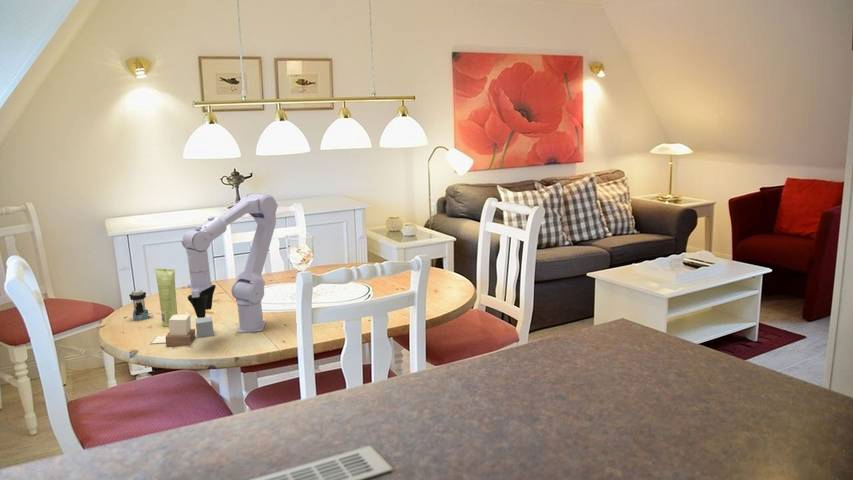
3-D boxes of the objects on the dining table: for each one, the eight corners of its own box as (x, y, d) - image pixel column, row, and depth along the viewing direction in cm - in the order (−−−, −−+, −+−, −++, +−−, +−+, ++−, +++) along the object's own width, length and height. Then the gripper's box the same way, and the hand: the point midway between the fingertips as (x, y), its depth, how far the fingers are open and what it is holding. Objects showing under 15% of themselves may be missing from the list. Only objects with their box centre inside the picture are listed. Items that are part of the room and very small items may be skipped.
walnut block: (172, 337, 210) (172, 328, 209) (195, 337, 210) (195, 328, 210) (166, 346, 203) (165, 336, 202) (189, 345, 203) (189, 336, 203)
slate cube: (197, 333, 214) (195, 318, 213) (213, 331, 216) (211, 316, 215) (197, 338, 210) (195, 323, 209) (214, 336, 212) (212, 321, 210)
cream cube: (174, 329, 208) (173, 314, 207) (190, 329, 209) (190, 314, 208) (169, 335, 203) (168, 319, 202) (186, 335, 204) (185, 319, 203)
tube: (179, 321, 227) (172, 265, 223) (181, 325, 223) (174, 268, 219) (161, 324, 225) (154, 268, 221) (163, 328, 220) (155, 271, 216)
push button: (154, 315, 235) (150, 287, 233) (152, 319, 230) (148, 292, 228) (133, 317, 233) (130, 290, 231) (131, 322, 228) (127, 294, 226)
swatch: (156, 337, 212) (156, 336, 212) (178, 335, 213) (178, 334, 213) (149, 345, 205) (149, 343, 205) (172, 343, 206) (172, 342, 206)
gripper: (192, 264, 206) (197, 306, 209) (178, 277, 192) (184, 322, 195) (215, 263, 207) (220, 305, 210) (203, 275, 193) (208, 320, 196)
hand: (204, 313), depth 203 cm, fingers open, 7 cm apart
